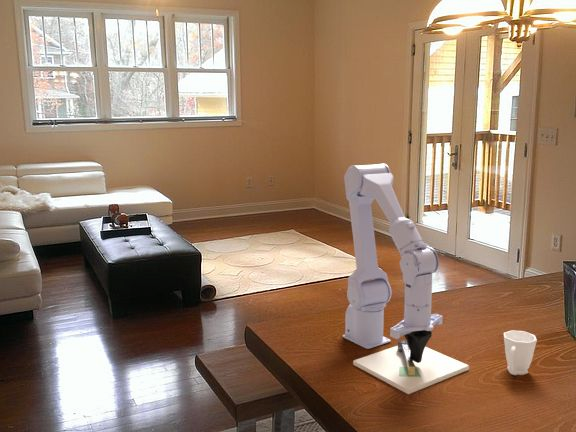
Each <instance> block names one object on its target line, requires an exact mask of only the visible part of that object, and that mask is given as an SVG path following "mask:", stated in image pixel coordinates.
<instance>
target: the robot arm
mask: <svg viewBox="0 0 576 432" xmlns="http://www.w3.org/2000/svg"><path fill="white" fill-rule="evenodd" d="M343 179H344V186H345V196H346V201H348V204H349V205H348V206H349V211H350V212H349V214H350V222H351V231H352V239H353V249H354V258H355V265H356V269H355V270H354V271H353V272H351V274H350V275H349V276H348V278H347V285H348V286H347V291H346V296H347V297H346V298H347V300H348V302H349V305H348V306H347V308H346V309H345V310H346V311H345V321H344V322H345V325H344V326H345V330H344V331H345V333H344V334H342V338H344V339H346V340H348V341H350V342H352V343H354V344H356V345H357V346H360V347H362V348H363V349H366V350H369V349H372V348H376V347H378V346H381V345H384V344H388V343H390V342H392V341H391V339H390V338H393V339H395V340H398V339H399V340H400V338H401V337H402V336H403V337H404V338H405V340H407V342H408V345H409V348H410V354H411V357H412V360H413V361H415V362H417V363H419V362H421V360H422V354H423V351H424V348H425V347H427V344H428V342H429V340H430V339H431V337H432V336H433V335H432V333H433V332H432V330H434V329H435V328H434V326H435V325H438V326H440V325H443V323H444V321H443V318H444V317H443V315H441V314H438V313H434V314H432V299H433V298H432V297H433V296H432V294H433V274H434V273H436V272H437V271H438V269H439V267H440V265H439V264H440V261H439V256H438V253H437V251H436V250H435V249H434V248H433V247H431V246H429V244H428V243H427V242H424V240H423V238H422V236H421V234H420V233H419V231H418V229H417V227H416V225H415V223H414V221H413V220H412V219H410V218H407V217H405V214H404V211H403V210H402V207H401V205H400V203H399V199H398V197H397V195H396V193H395V191H394V188H393V184H394V175H393V173H392V171H391V168H390V167H389V165H387V164H386V163H382V162H381V163H377V164H363V165H356V164H354V165H353V164H352V165H350V166H349V167H348V168H347V170H346V172H345V174H344V176H343ZM374 200H375V201H376V202H377V204H378V206H379V207H380V209H381V211H382V212H383V214H384V216H385V218H387V220H388V222H389V225H390V226H389V229H388V232H389V235H390V238H392V241H393V243H394V244H395V248H397V251H398V253H399V255H400V257H401V258H400V260H399V268H400V270H401V273H402V280H403V283H404V308H403V310H404V311H403V312H404V313H403V319H402V320H401V321H400V322H398V323H397V324H396V325H394V326H393V327H390V328H389V334H390V335H389V336H390V338H388V337H386V336H384V317H385V316H384V314H385V313H384V312H385V308H386V307H387V304H388V303H389V302H390V300H391V298H392V287H391V284H390V282H389V278H388V274H387V272H385V271H384V270H382V269H381V268H380V267H379V263H378V262H379V261H378V255H377V245H376V236H375V229H374V228H375V227H374V219H373V213H372V212H373V210H372V203H373V201H374Z"/></svg>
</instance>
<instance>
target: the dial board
mask: <svg viewBox="0 0 576 432" xmlns="http://www.w3.org/2000/svg"><path fill="white" fill-rule="evenodd" d="M352 362H353V363H352V365H353V366H355V367H356V368H359V369H360V370H362V371H365V372H366V373H368V374H370V375H372V376H373V377H374V378H375V377H376V378H377V379H378V380H381V381H383V382H384V383H386V384H388V385H390V386H391V387H393V388H396V389H398V390H399V391H401V392H403V393H405V394H407V395H410V394H413V393H415V392H417V391H419V390H422V389H425V388H428V387H430V386H432V385H435V384H437V383H439V382H442V381H445V380H447V379H450V378H452V377H454V376H457V375H459V374H461V373H464V372H467V371H469V370H470V365H469V364H467V363H465V362H462V361H460V360H457V359H455V358H453V357H450V356H447V355H445V354H444V353H441V352H439V351H436V350H434V349H431V348H429V347H428V346H425V348H424V351H423V354H422V360H421V362H419V363H417V362H415V361H413V363H414V365H415V375H408V372H407V368H406V365H405V361H404V358H403V355H402V352H399V351H398V345H394V346H392V347H390V348H386V349H384V350H380V351H378V352H374V353H371V354H369V355H366V356H362V357H359V358H357V359H354V360H353V361H352Z"/></svg>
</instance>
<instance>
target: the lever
mask: <svg viewBox="0 0 576 432" xmlns="http://www.w3.org/2000/svg"><path fill="white" fill-rule="evenodd" d="M397 346H398V351H399V352H402V355H403V358H404V361H405V365H406V368H407V372H408V375H415V365H414V363H413V360H412V357H411V354H410V348H409V345H408V342H407V340H406V339H399V340H398V341H397Z"/></svg>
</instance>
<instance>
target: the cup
mask: <svg viewBox="0 0 576 432" xmlns="http://www.w3.org/2000/svg"><path fill="white" fill-rule="evenodd" d="M503 341H504V342H503V343H504V353H505V358H506V363H507V366H506V367H507V371H508V372H509V374H510V375H512V376H517V375H518V376H524V375H526V374H528V373H529V371H528V370H529V369H530V367H531V363H532V361H533V358H534V353H535V349H536V345H537V342H538V339H537V337H536V335H535V334H533V333H530V332H528V331H524V330H513V329H511V330H509V331H505V332H503Z"/></svg>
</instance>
